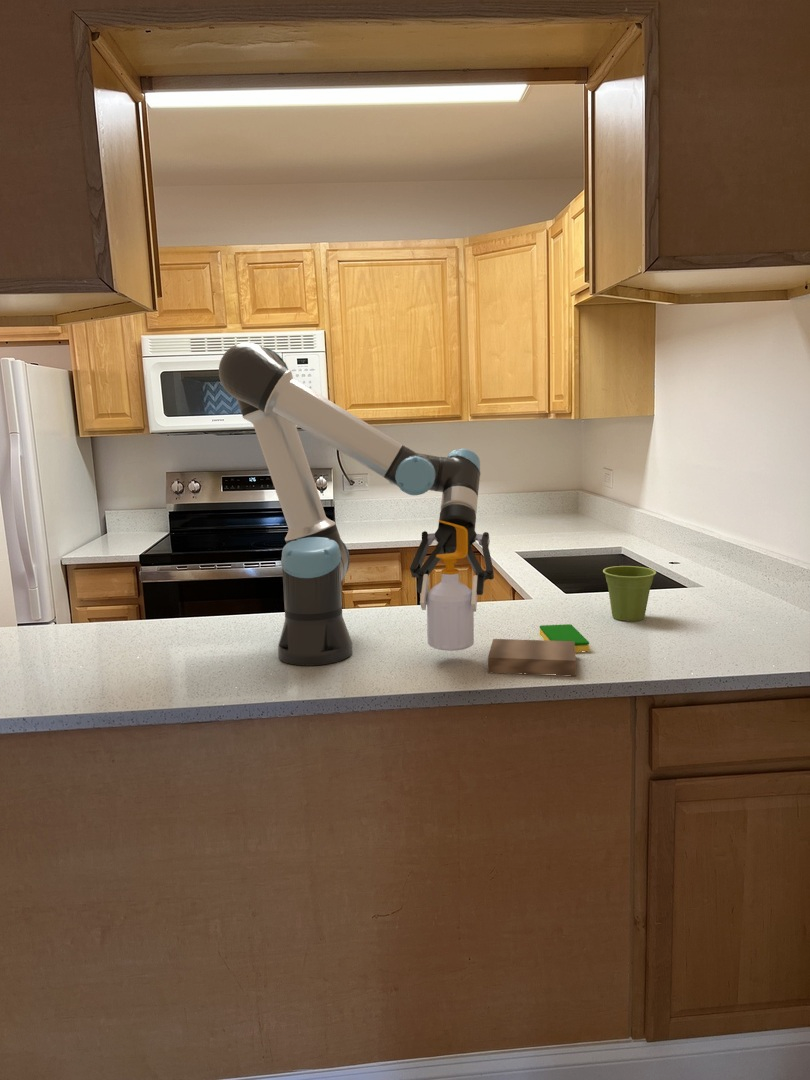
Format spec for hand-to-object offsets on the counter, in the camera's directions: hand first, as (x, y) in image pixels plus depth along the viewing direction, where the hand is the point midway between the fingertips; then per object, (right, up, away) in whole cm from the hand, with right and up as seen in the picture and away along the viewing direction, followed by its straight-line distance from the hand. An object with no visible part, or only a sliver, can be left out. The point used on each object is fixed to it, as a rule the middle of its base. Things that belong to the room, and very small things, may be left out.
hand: (448, 607), depth 142 cm
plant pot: (+44, -6, +32) cm, 55 cm away
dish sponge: (+25, -9, +15) cm, 31 cm away
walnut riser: (+16, -11, +2) cm, 20 cm away
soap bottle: (+1, -8, +4) cm, 9 cm away
